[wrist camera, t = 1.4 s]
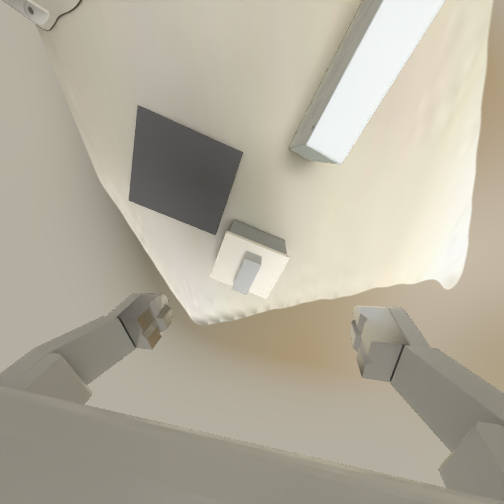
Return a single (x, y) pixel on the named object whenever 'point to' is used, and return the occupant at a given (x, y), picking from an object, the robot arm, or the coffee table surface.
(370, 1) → the skincare box
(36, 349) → the robot arm
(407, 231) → the coffee table surface
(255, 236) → the grey storage box
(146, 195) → the black rubber mat
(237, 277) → the cream lid
